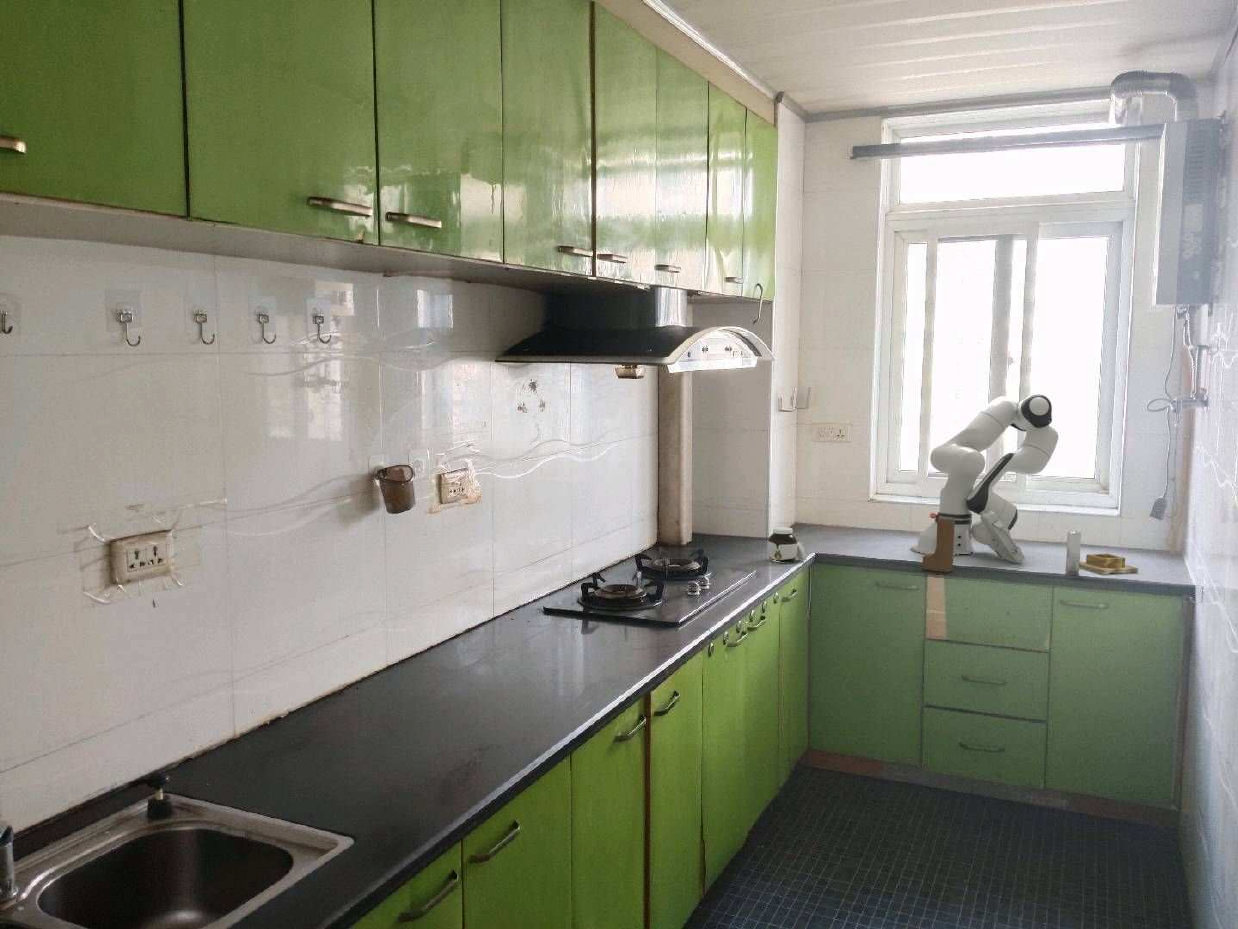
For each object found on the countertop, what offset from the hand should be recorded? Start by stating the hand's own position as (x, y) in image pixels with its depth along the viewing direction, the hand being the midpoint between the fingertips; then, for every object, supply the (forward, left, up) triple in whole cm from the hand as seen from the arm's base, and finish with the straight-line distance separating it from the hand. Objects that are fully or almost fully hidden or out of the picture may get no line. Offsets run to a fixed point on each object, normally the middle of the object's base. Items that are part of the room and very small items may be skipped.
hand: (1011, 539), depth 339 cm
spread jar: (-70, +27, -10) cm, 76 cm away
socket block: (+29, -11, -10) cm, 33 cm away
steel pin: (+13, -15, -10) cm, 22 cm away
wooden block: (-27, +1, -10) cm, 29 cm away
